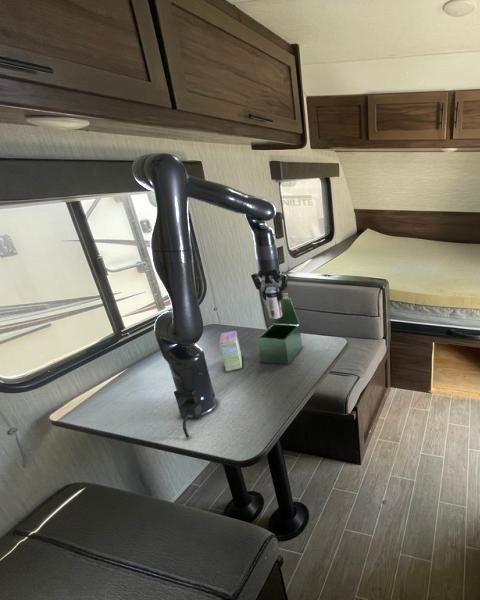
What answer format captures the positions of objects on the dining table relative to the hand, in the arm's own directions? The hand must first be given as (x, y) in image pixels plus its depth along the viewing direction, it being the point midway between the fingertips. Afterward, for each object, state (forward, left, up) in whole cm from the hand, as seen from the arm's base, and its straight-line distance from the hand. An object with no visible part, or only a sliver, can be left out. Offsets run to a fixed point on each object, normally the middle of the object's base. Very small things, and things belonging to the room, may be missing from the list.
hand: (273, 299), depth 123 cm
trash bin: (+2, +1, -25) cm, 25 cm away
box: (-7, +17, -26) cm, 31 cm away
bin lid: (+6, +1, -8) cm, 10 cm away
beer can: (0, 0, -8) cm, 8 cm away
